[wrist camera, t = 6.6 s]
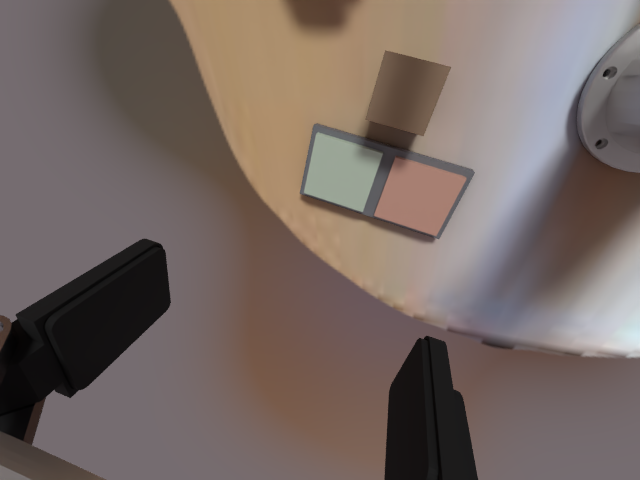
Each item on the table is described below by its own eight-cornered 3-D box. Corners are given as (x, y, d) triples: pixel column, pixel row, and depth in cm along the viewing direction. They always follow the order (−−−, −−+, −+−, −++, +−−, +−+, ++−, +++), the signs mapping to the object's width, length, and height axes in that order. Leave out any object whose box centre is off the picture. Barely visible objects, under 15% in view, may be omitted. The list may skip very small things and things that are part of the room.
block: (442, 69, 26) (451, 67, 21) (420, 126, 29) (423, 136, 23) (389, 56, 26) (385, 50, 21) (372, 113, 29) (365, 119, 24)
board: (472, 169, 29) (476, 175, 27) (438, 234, 33) (439, 242, 32) (316, 123, 31) (311, 125, 29) (302, 190, 35) (297, 195, 33)
